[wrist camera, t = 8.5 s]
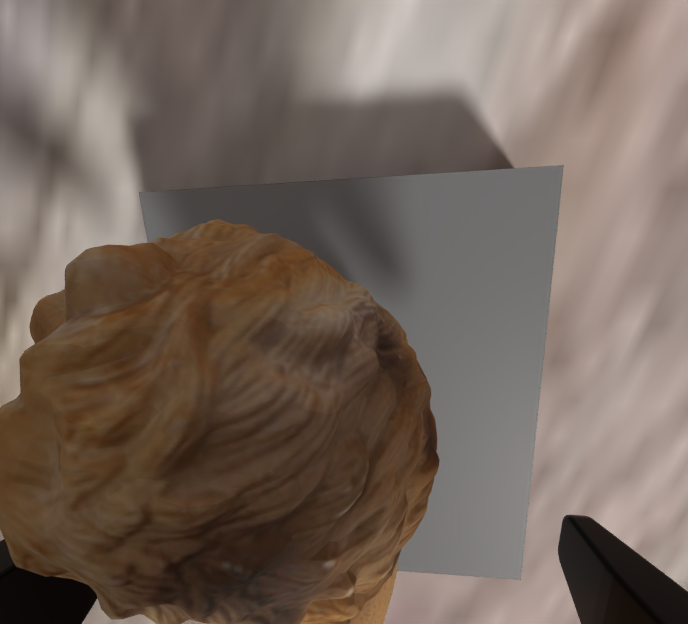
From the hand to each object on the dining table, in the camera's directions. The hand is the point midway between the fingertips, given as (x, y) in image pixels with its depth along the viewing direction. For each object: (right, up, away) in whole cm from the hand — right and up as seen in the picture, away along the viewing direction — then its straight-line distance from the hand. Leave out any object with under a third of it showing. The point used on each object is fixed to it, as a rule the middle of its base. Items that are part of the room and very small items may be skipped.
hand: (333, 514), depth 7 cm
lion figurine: (0, 0, +5) cm, 5 cm away
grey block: (+1, +2, +8) cm, 9 cm away
